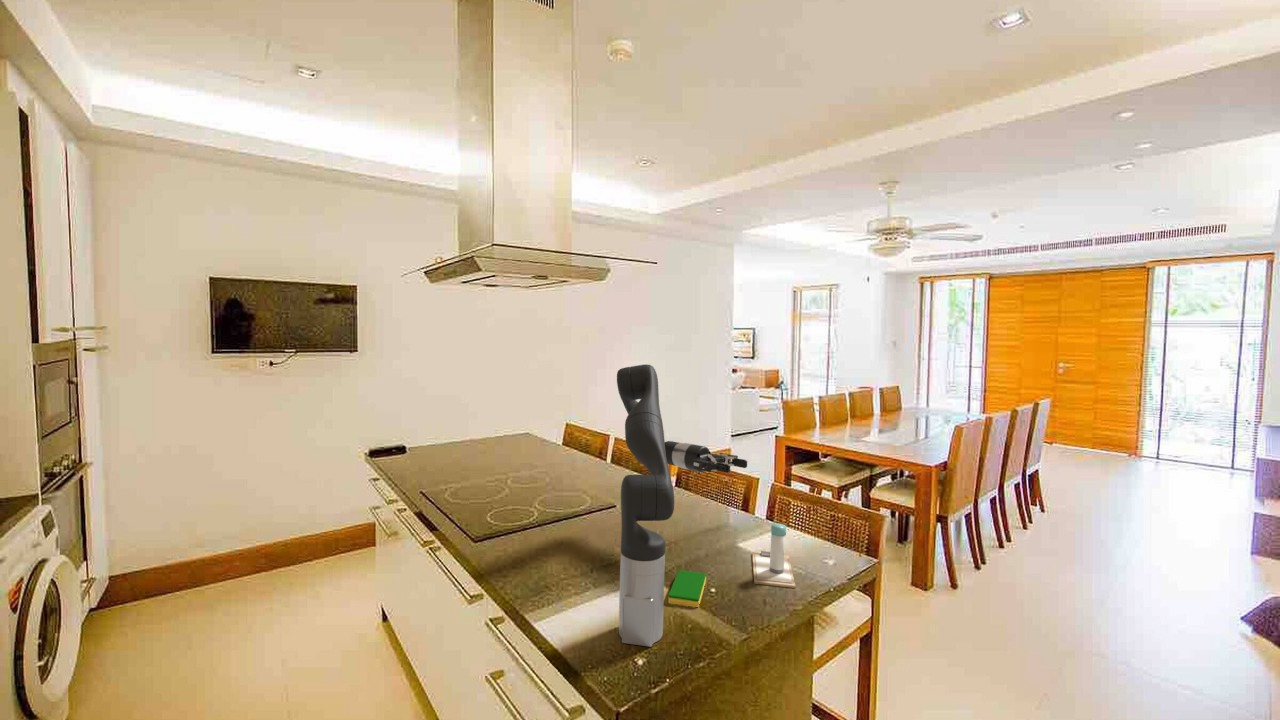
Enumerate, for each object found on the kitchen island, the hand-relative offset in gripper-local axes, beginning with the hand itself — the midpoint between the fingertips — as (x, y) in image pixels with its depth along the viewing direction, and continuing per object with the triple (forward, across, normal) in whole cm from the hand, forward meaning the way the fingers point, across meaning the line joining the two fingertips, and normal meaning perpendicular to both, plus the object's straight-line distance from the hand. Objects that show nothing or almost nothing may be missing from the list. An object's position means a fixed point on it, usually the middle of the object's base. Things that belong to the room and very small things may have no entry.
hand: (738, 466), depth 144 cm
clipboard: (+10, +3, +27) cm, 29 cm away
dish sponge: (+1, -22, +28) cm, 36 cm away
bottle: (+11, +2, +26) cm, 28 cm away
